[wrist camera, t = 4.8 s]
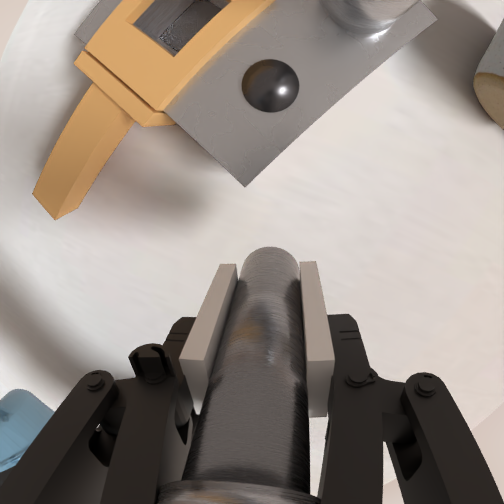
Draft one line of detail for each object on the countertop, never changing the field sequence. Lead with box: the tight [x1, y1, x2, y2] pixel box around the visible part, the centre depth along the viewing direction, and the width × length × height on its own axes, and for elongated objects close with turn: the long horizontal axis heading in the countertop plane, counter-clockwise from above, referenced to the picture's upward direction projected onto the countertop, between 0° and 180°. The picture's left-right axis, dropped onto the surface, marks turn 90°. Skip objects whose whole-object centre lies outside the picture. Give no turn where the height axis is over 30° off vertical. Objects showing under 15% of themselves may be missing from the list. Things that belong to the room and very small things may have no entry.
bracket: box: [32, 0, 276, 220], centre depth 16 cm, size 20×7×5 cm, turn 135°
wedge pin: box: [156, 247, 321, 504], centre depth 10 cm, size 4×4×13 cm
